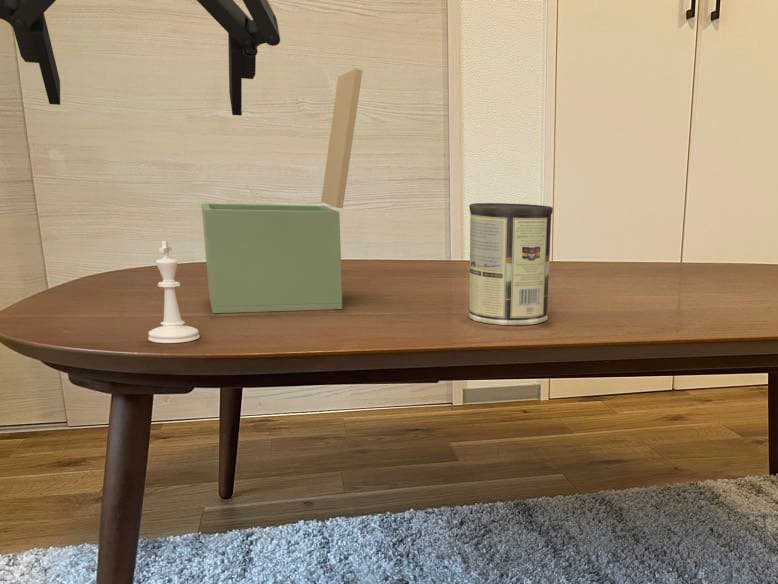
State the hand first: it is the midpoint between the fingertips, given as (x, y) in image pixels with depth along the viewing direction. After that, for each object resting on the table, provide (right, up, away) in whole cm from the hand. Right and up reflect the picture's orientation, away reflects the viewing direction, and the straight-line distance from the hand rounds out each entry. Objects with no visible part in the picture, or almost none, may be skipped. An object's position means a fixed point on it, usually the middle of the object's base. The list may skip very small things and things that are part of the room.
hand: (148, 99), depth 65 cm
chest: (-2, -12, +37) cm, 39 cm away
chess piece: (-5, -19, +16) cm, 25 cm away
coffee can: (+29, -15, +35) cm, 47 cm away
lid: (+7, +8, +35) cm, 36 cm away
